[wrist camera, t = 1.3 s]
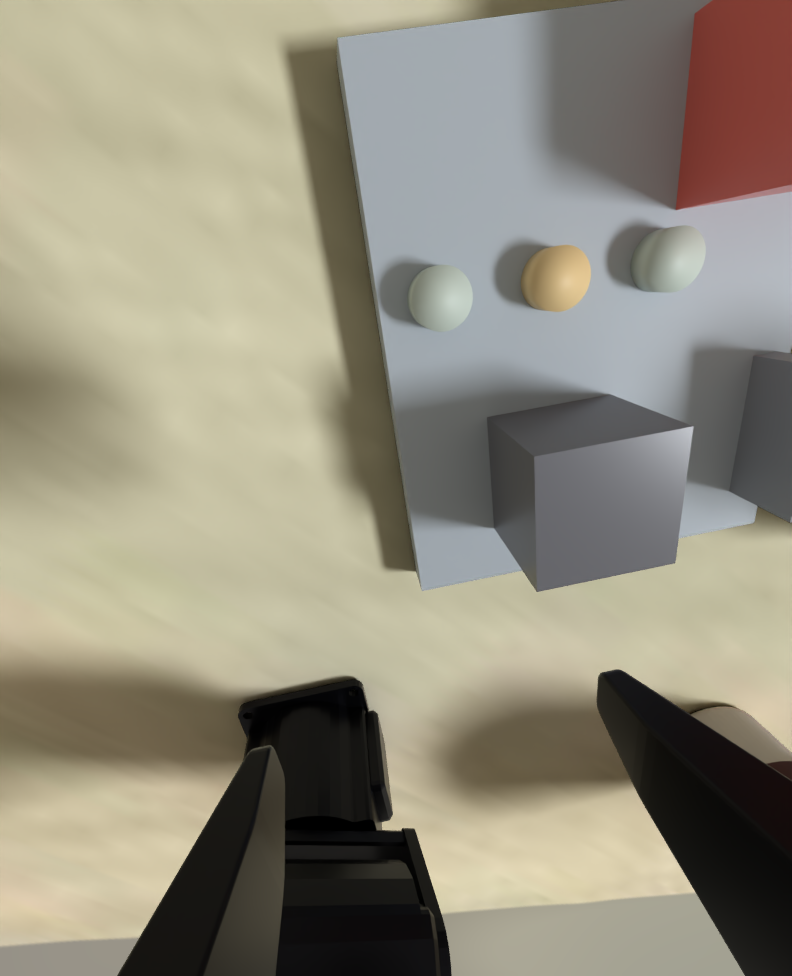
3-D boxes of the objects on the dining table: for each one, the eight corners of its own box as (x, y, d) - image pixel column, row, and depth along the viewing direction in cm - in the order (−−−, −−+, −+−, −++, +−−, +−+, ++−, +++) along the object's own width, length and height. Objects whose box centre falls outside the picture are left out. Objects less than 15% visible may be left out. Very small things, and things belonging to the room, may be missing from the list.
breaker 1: (493, 528, 20) (536, 591, 16) (486, 416, 18) (534, 456, 13) (604, 506, 20) (675, 563, 16) (610, 394, 18) (693, 426, 14)
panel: (416, 572, 22) (435, 637, 18) (336, 62, 14) (338, -32, 10) (728, 508, 23) (815, 557, 19) (822, -4, 15) (1010, -114, 11)
